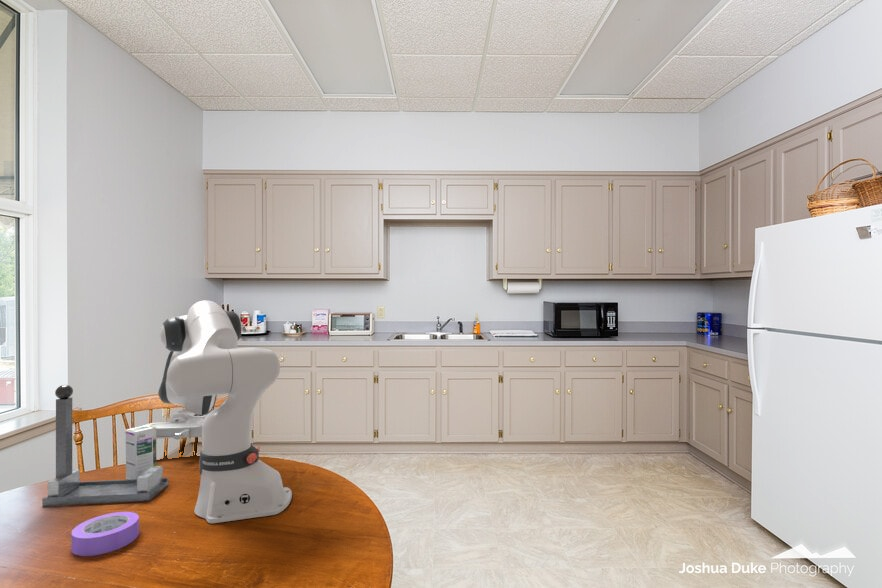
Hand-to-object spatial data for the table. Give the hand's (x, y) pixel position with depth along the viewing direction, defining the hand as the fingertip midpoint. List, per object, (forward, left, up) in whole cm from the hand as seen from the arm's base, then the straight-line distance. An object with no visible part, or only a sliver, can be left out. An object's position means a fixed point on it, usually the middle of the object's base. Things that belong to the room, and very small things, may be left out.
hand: (161, 437), depth 143 cm
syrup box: (0, +12, -8) cm, 14 cm away
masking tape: (-10, +47, -9) cm, 49 cm away
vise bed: (+3, +23, -8) cm, 24 cm away
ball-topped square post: (+13, +23, -7) cm, 27 cm away
